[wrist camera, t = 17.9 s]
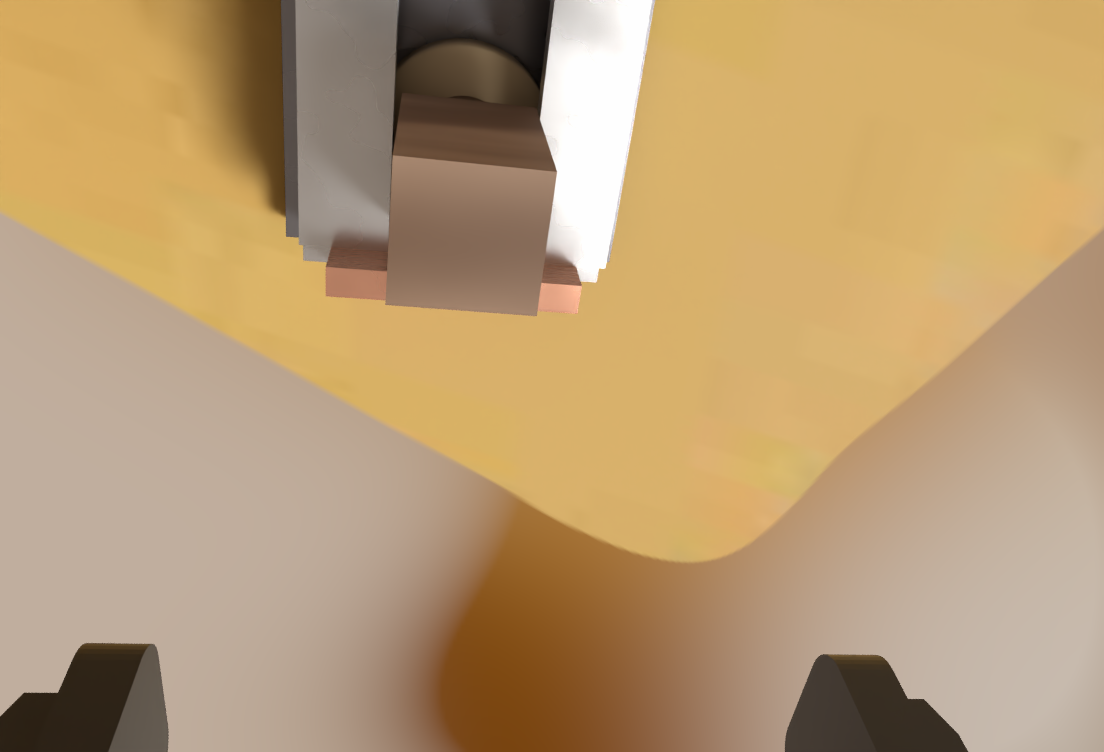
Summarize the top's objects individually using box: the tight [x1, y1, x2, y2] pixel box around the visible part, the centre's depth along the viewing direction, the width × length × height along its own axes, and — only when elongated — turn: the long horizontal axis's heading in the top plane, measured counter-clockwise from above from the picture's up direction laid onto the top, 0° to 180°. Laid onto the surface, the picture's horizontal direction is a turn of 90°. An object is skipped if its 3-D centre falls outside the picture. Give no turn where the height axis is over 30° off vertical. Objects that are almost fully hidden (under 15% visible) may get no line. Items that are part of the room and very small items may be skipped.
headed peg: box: [385, 38, 557, 316], centre depth 27 cm, size 6×6×10 cm
